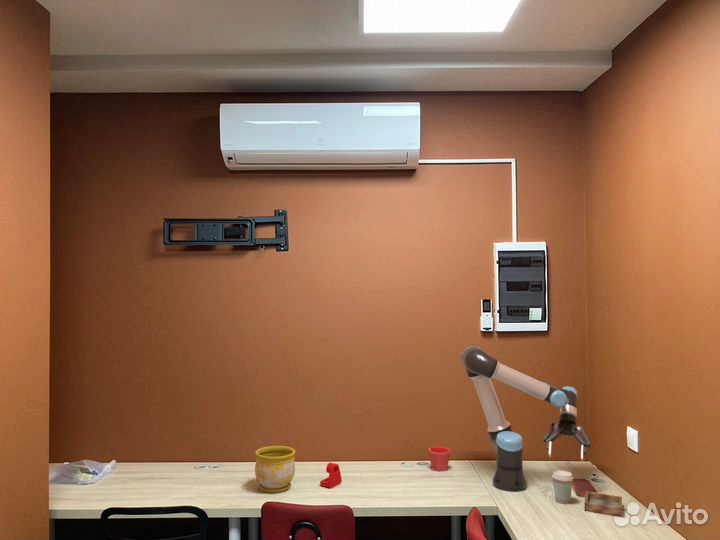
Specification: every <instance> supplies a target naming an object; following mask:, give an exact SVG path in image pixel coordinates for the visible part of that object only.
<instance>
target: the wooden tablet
mask: <svg viewBox="0 0 720 540" xmlns="http://www.w3.org/2000/svg"><path fill="white" fill-rule="evenodd" d="M586 479H587V478H586ZM586 479H573V481H572V490H574V493H575V495H576V496H577V497H578V498H585V496H586V491H588V492H594V493H599V492H598V490H597V488H595V487H594V485H593V484H592V483H591V481H590V480H589V479H588V480H589V481H588V480H586ZM592 485H593V486H592Z"/></svg>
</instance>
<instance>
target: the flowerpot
mask: <svg viewBox="0 0 720 540" xmlns="http://www.w3.org/2000/svg"><path fill="white" fill-rule="evenodd" d="M295 454H296V449H294V448H293V447H290V446H286V445H269V446H265V447H264V446H263V447H260V448H258V449H257V450H255V452H254V455H255V456H256V457H255V460H256V461H255V465H254V471H255V478H256V480H257V483H258V487H259V489H260V491H262V492H264V493H269V494H275V493H277V494H278V493H282V492H285V491H287V490H288V489H289V488H290V487H291V485H292V483H291V482H292V481H293V479H294V476H295V471H296V463H295V458H296V457H295Z"/></svg>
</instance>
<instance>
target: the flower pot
mask: <svg viewBox="0 0 720 540" xmlns="http://www.w3.org/2000/svg"><path fill="white" fill-rule="evenodd" d="M428 455H429V462H430V466H431V470H433V471H435V472H445V471H447V469H448V467H449V461H450V456H451V449H450V448H447V447H444V446H432V447H430V448H428Z"/></svg>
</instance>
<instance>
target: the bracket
mask: <svg viewBox="0 0 720 540" xmlns="http://www.w3.org/2000/svg"><path fill="white" fill-rule="evenodd" d="M325 471H326V473H327V474H328V477H325V478H324V479H321V480H319V482H320V483H319V485H320V486H322V487H326V488H329V489H331V488H335V487H338V486H339V485H340V484H341V483H342V481H343V478H342V474H341V470H340V466H339V464H338V463H333V462H328V463H327V464H326V468H325Z"/></svg>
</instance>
